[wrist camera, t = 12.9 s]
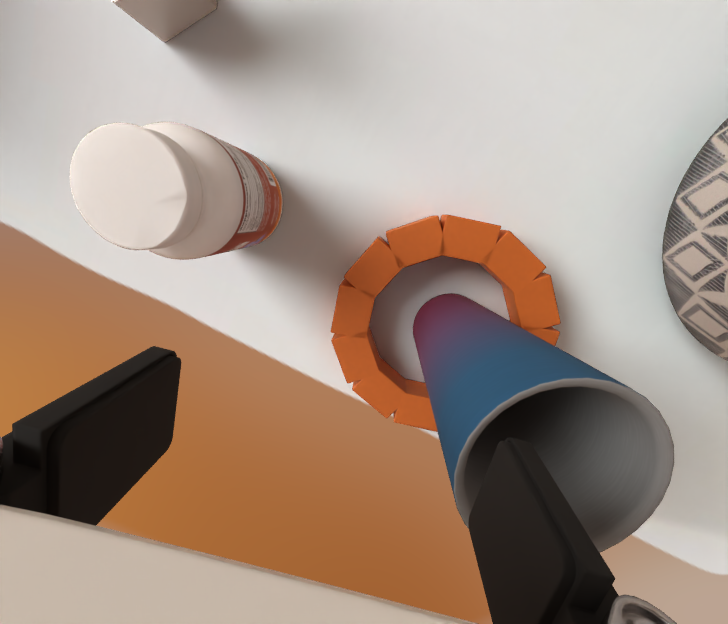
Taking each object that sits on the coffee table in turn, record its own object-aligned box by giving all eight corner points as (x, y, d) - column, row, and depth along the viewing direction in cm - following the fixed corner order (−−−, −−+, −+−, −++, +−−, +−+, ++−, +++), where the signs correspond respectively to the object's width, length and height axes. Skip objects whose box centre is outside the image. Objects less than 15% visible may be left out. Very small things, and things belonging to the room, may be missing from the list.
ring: (572, 242, 24) (592, 245, 21) (506, 429, 28) (517, 449, 25) (359, 197, 24) (356, 195, 22) (322, 390, 28) (316, 405, 25)
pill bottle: (193, 238, 25) (51, 253, 15) (198, 143, 24) (42, 84, 13) (280, 254, 25) (200, 282, 14) (291, 161, 24) (211, 115, 13)
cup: (453, 388, 27) (563, 594, 12) (380, 337, 26) (408, 499, 11) (515, 318, 25) (722, 457, 11) (442, 260, 24) (563, 332, 10)
